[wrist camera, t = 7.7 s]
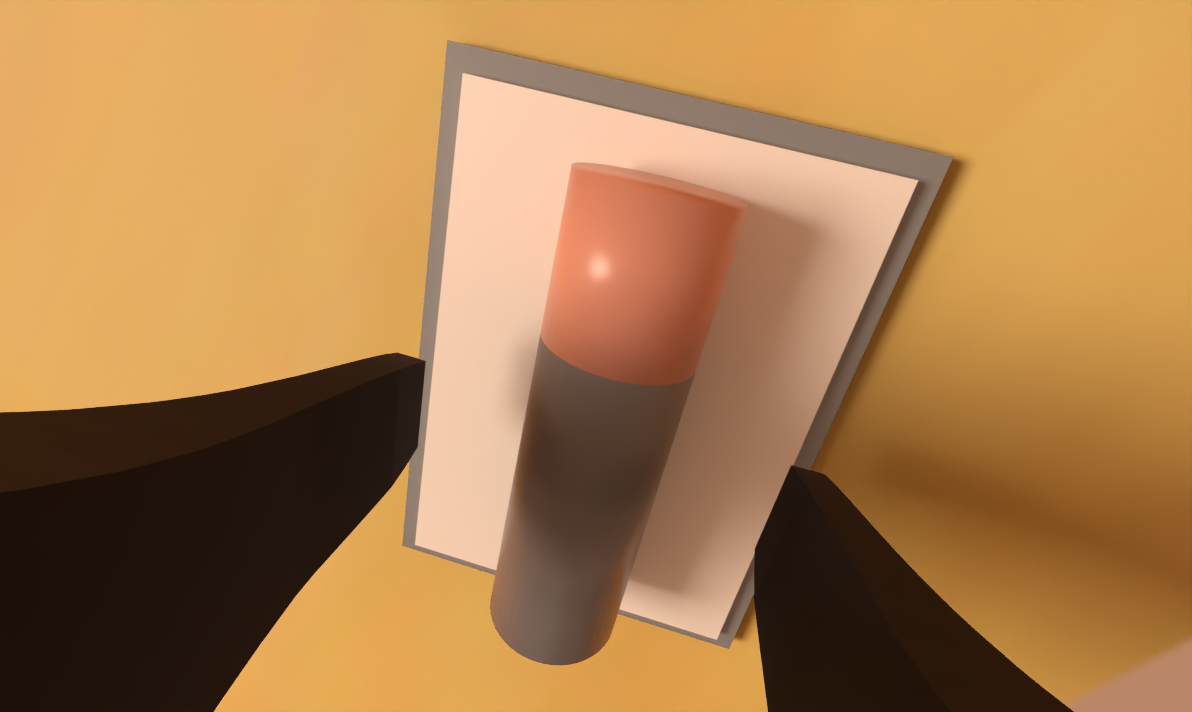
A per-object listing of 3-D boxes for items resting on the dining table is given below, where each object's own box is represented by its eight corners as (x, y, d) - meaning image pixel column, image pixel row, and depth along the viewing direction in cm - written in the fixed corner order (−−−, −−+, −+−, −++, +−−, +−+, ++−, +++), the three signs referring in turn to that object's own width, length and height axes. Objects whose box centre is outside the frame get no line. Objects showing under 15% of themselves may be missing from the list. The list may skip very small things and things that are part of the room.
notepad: (728, 636, 16) (729, 658, 15) (409, 536, 16) (397, 552, 16) (945, 156, 10) (960, 157, 10) (456, 42, 11) (440, 38, 10)
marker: (623, 580, 15) (600, 684, 12) (516, 545, 15) (469, 637, 12) (745, 196, 10) (753, 219, 8) (593, 158, 11) (549, 168, 8)
